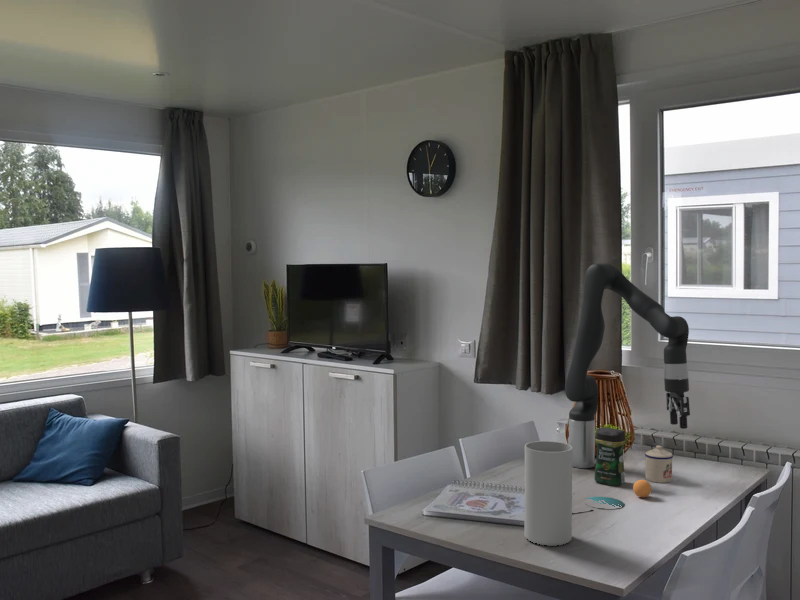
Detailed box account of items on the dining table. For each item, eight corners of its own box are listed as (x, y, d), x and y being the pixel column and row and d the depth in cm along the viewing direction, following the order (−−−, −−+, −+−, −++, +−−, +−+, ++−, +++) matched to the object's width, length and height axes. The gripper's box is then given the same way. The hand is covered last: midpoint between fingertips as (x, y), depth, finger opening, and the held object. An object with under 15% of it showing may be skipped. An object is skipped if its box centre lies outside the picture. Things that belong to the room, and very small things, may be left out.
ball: (629, 495, 236) (629, 478, 236) (643, 493, 238) (643, 476, 238) (641, 500, 231) (641, 483, 231) (655, 498, 233) (655, 481, 233)
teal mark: (576, 500, 232) (576, 499, 232) (606, 495, 236) (606, 494, 236) (600, 511, 221) (600, 510, 221) (632, 506, 225) (632, 505, 225)
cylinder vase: (541, 550, 191) (542, 454, 190) (515, 534, 202) (515, 443, 201) (581, 542, 196) (581, 449, 195) (553, 527, 207) (554, 439, 206)
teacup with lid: (668, 484, 248) (668, 450, 247) (641, 480, 253) (641, 446, 252) (677, 476, 257) (678, 443, 257) (651, 472, 263) (651, 440, 262)
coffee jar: (591, 482, 250) (591, 428, 250) (601, 477, 257) (601, 424, 256) (618, 488, 244) (618, 432, 243) (628, 482, 250) (628, 428, 250)
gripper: (657, 375, 250) (660, 423, 250) (672, 379, 236) (675, 430, 236) (679, 374, 250) (682, 422, 250) (696, 378, 236) (698, 429, 236)
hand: (678, 426), depth 243 cm, fingers open, 8 cm apart
